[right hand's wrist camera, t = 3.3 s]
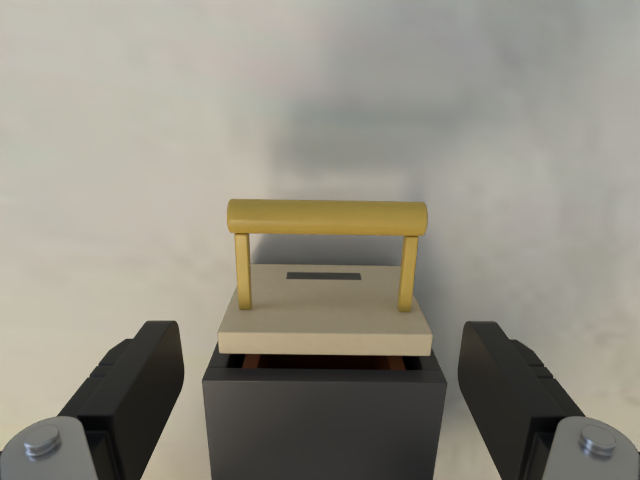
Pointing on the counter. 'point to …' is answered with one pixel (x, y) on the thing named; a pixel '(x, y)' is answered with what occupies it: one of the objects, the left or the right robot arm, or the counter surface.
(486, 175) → the counter surface
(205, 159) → the counter surface
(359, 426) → the cabinet
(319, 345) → the drawer
